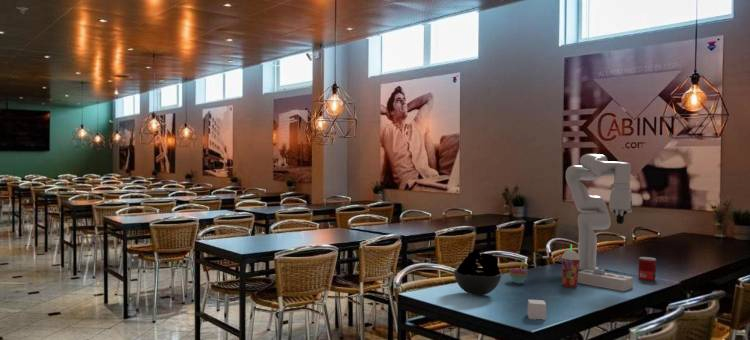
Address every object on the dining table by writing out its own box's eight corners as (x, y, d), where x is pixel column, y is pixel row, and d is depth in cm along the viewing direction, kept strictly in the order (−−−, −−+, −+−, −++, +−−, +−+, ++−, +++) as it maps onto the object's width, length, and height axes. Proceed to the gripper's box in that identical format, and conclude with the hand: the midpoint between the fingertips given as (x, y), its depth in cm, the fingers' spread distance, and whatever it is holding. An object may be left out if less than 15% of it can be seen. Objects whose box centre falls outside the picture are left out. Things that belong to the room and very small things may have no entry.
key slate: (593, 277, 286) (593, 269, 286) (596, 276, 289) (596, 268, 289) (601, 279, 284) (601, 270, 283) (604, 278, 286) (604, 269, 286)
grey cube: (545, 320, 218) (546, 304, 218) (529, 319, 219) (529, 303, 219) (543, 316, 224) (544, 300, 224) (527, 314, 225) (527, 299, 225)
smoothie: (578, 285, 281) (580, 243, 281) (578, 289, 274) (580, 246, 273) (560, 283, 284) (562, 242, 284) (560, 287, 276) (561, 244, 276)
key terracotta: (603, 283, 283) (604, 274, 282) (607, 282, 285) (607, 273, 285) (612, 284, 280) (612, 275, 280) (615, 283, 283) (615, 274, 283)
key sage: (582, 279, 290) (582, 270, 290) (585, 278, 293) (586, 269, 293) (590, 280, 287) (590, 272, 287) (593, 279, 290) (593, 271, 290)
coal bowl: (490, 303, 241) (492, 257, 240) (445, 295, 251) (447, 251, 251) (506, 294, 258) (508, 251, 257) (464, 287, 268) (466, 246, 268)
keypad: (576, 282, 289) (576, 272, 288) (585, 279, 296) (586, 269, 296) (623, 291, 273) (624, 280, 272) (632, 287, 281) (633, 277, 280)
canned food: (657, 281, 298) (658, 259, 298) (640, 280, 300) (641, 258, 299) (653, 278, 305) (654, 257, 305) (636, 277, 307) (637, 256, 307)
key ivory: (615, 285, 279) (615, 276, 279) (618, 284, 282) (618, 275, 282) (623, 286, 276) (624, 277, 276) (626, 285, 279) (627, 276, 279)
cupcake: (528, 282, 285) (529, 257, 285) (525, 285, 278) (526, 260, 277) (510, 279, 289) (511, 255, 289) (507, 283, 281) (508, 258, 281)
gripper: (603, 186, 296) (602, 222, 297) (634, 188, 286) (632, 225, 286) (609, 186, 302) (608, 221, 302) (639, 187, 291) (638, 224, 292)
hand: (619, 223), depth 294 cm, fingers closed
